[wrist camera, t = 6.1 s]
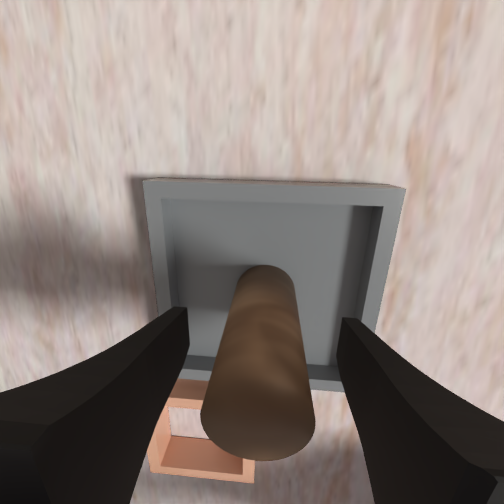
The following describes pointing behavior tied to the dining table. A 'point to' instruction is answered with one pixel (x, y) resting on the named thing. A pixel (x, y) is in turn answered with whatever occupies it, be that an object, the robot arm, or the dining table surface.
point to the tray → (271, 256)
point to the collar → (193, 444)
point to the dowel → (260, 373)
